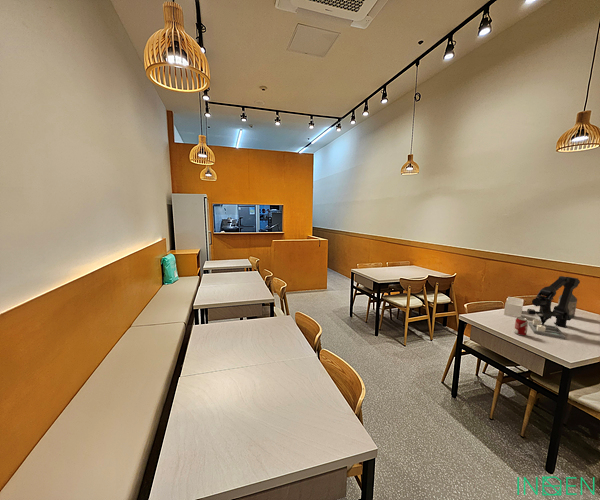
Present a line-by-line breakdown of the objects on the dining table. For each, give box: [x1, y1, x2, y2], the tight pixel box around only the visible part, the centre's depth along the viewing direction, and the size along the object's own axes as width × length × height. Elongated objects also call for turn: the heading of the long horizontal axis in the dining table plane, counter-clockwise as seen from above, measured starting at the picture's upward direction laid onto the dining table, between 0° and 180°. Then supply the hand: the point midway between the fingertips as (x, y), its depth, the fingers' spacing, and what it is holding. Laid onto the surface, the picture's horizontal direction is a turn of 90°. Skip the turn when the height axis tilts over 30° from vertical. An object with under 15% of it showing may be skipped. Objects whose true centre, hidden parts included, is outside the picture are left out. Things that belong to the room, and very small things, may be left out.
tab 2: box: [536, 325, 546, 332], centre depth 179 cm, size 3×4×5 cm
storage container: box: [503, 296, 524, 319], centre depth 217 cm, size 25×11×11 cm, turn 135°
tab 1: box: [532, 318, 542, 325], centre depth 189 cm, size 3×4×5 cm
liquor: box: [557, 293, 578, 319], centre depth 210 cm, size 9×9×30 cm
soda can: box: [513, 316, 529, 336], centre depth 177 cm, size 7×7×12 cm
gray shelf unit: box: [528, 321, 566, 340], centre depth 182 cm, size 19×16×2 cm
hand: (542, 324), depth 187 cm, fingers closed
